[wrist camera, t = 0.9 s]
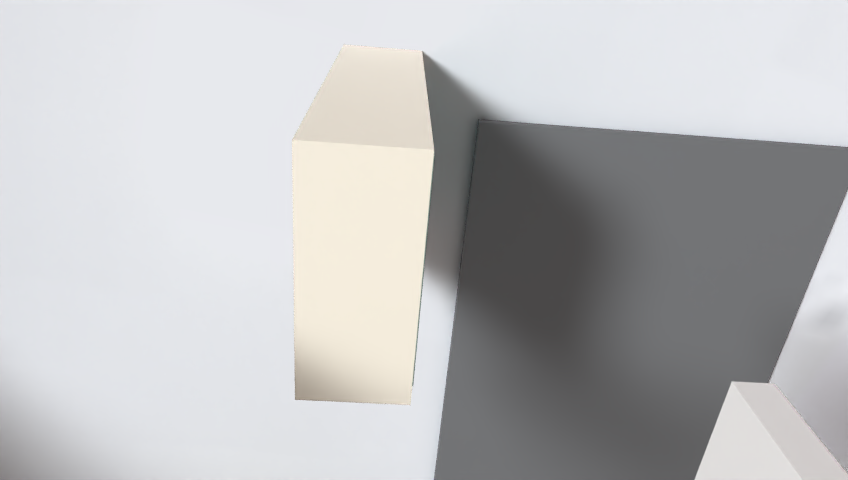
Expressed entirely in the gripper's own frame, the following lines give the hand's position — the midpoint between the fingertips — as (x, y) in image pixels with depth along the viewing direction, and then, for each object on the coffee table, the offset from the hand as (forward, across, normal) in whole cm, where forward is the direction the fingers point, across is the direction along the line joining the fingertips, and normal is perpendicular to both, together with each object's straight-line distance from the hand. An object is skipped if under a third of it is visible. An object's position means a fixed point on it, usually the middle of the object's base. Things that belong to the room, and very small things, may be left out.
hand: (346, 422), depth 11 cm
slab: (+16, 0, 0) cm, 17 cm away
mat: (+16, +12, -10) cm, 23 cm away
